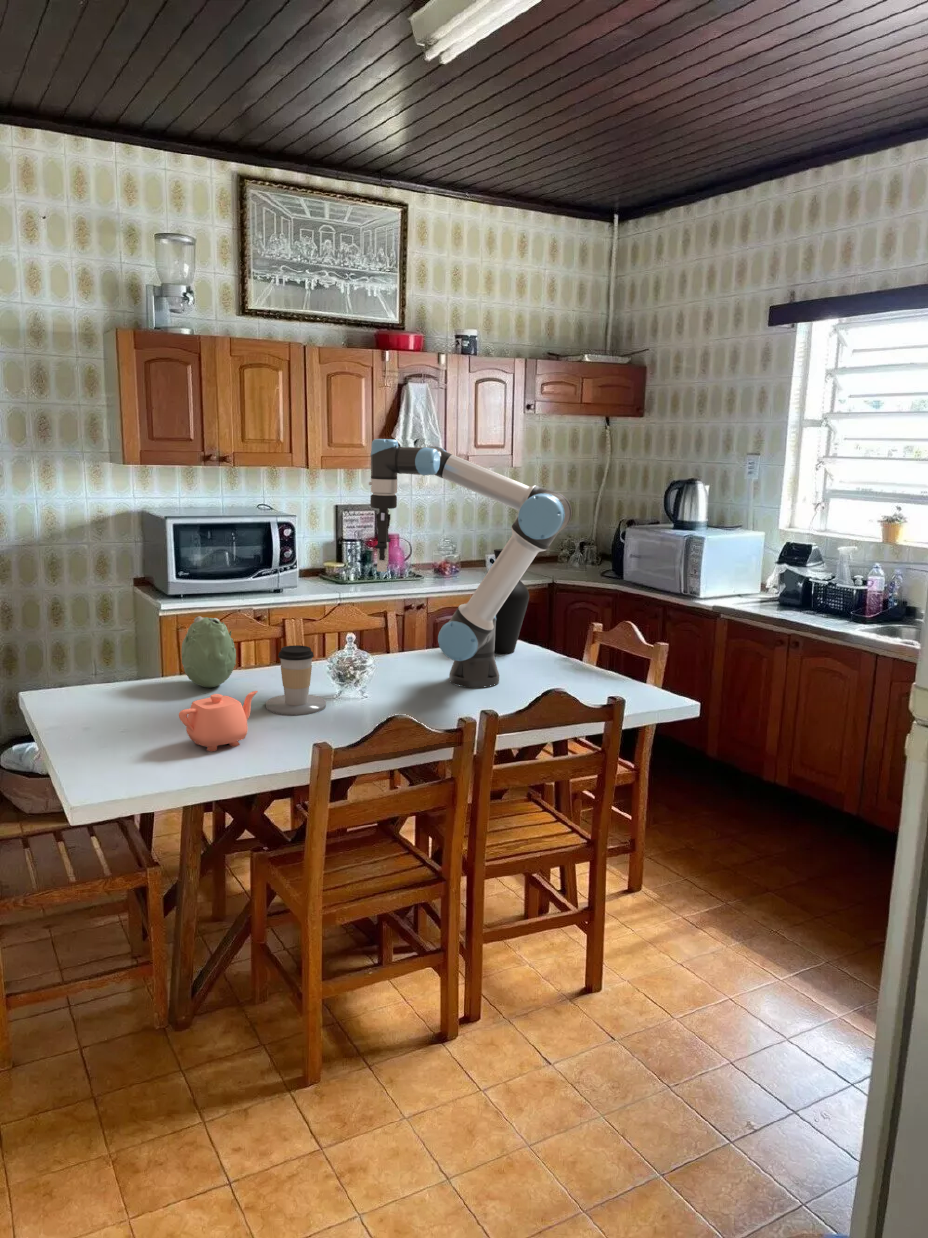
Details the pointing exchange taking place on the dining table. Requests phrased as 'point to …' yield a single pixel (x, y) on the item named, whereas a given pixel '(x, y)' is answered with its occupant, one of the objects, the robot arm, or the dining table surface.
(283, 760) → the dining table surface
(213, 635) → the green bumpy egg shape
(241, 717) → the teapot
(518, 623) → the vase
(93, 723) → the dining table surface
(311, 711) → the coaster
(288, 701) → the coffee cup
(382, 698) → the dining table surface
